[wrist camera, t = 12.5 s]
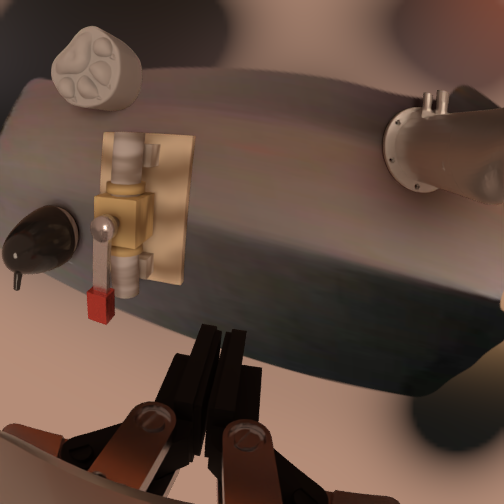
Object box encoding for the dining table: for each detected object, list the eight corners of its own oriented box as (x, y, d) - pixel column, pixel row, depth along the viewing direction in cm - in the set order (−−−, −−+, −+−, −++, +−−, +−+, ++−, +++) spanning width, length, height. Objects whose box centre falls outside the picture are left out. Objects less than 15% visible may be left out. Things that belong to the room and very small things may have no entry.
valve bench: (108, 132, 40) (66, 132, 30) (195, 136, 40) (170, 133, 29) (105, 266, 47) (70, 295, 37) (183, 281, 47) (160, 317, 37)
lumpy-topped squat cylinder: (114, 30, 34) (86, 14, 26) (158, 78, 37) (133, 66, 29) (70, 77, 37) (38, 70, 29) (109, 127, 40) (77, 126, 32)
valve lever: (97, 211, 32) (86, 217, 30) (118, 216, 32) (108, 222, 30) (96, 309, 37) (87, 318, 35) (115, 315, 37) (107, 325, 35)
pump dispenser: (45, 252, 48) (-8, 285, 33) (44, 197, 44) (-17, 219, 30) (87, 263, 48) (34, 303, 33) (87, 204, 44) (26, 230, 30)
